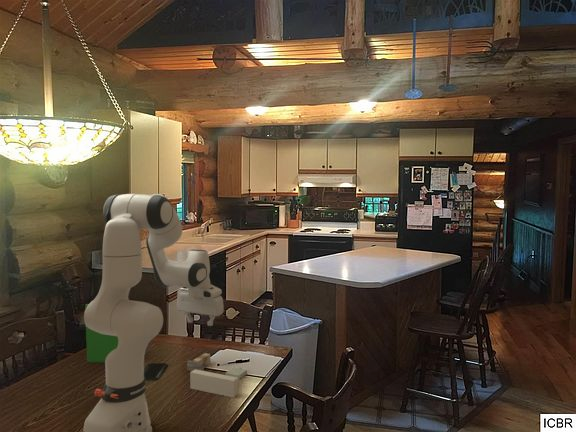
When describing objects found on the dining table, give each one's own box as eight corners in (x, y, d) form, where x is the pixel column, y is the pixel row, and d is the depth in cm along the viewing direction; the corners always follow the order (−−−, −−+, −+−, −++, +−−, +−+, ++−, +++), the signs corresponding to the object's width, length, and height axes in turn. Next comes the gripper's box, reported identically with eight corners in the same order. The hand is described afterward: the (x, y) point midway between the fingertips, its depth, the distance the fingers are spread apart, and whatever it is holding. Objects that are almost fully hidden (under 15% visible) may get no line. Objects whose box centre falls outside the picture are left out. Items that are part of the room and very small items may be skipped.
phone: (168, 363, 197) (157, 378, 182) (168, 366, 197) (157, 381, 182) (148, 363, 197) (136, 378, 182) (148, 366, 197) (136, 381, 182)
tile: (239, 380, 183) (239, 375, 183) (225, 378, 185) (225, 372, 185) (247, 374, 188) (247, 369, 188) (233, 372, 191) (233, 367, 190)
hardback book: (87, 361, 201) (85, 304, 199) (95, 355, 208) (93, 300, 206) (128, 363, 199) (126, 305, 197) (135, 356, 206) (134, 301, 204)
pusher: (202, 372, 189) (201, 362, 189) (187, 369, 192) (187, 360, 192) (215, 364, 198) (214, 354, 197) (200, 361, 201) (200, 352, 200)
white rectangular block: (233, 397, 168) (233, 380, 167) (190, 388, 175) (190, 372, 174) (246, 387, 176) (246, 371, 175) (204, 379, 183) (204, 363, 183)
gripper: (172, 289, 193) (173, 323, 194) (216, 294, 184) (217, 329, 186) (182, 285, 199) (183, 318, 200) (225, 290, 190) (226, 324, 191)
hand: (200, 323), depth 193 cm, fingers open, 8 cm apart
